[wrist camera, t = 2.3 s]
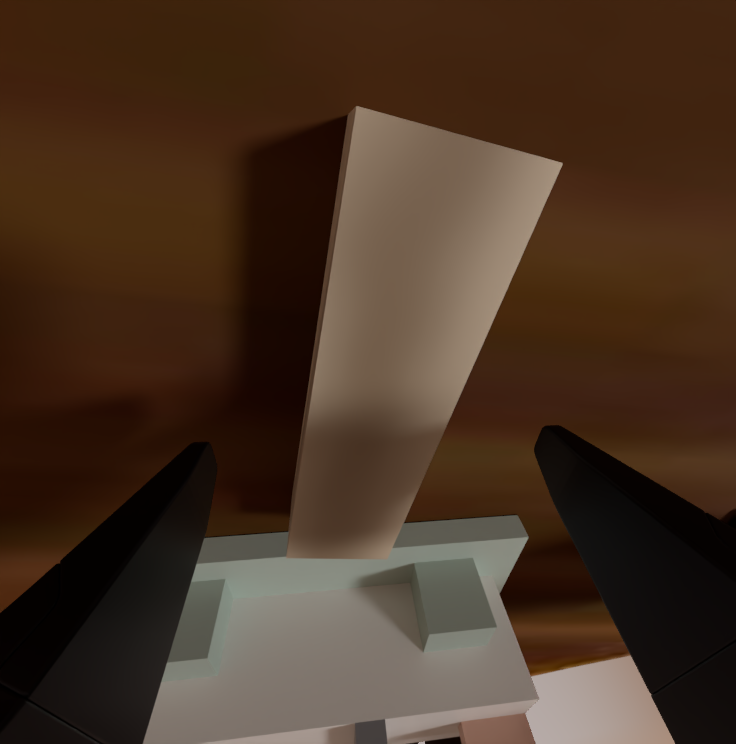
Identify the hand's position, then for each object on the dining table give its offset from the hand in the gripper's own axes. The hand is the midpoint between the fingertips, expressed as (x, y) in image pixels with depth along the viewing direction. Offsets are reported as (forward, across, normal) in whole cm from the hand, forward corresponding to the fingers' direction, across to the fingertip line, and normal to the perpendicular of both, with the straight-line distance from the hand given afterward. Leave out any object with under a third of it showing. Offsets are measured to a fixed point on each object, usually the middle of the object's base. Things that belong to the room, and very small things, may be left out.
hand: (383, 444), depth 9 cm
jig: (+3, +2, +15) cm, 15 cm away
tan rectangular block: (+4, 0, 0) cm, 4 cm away
